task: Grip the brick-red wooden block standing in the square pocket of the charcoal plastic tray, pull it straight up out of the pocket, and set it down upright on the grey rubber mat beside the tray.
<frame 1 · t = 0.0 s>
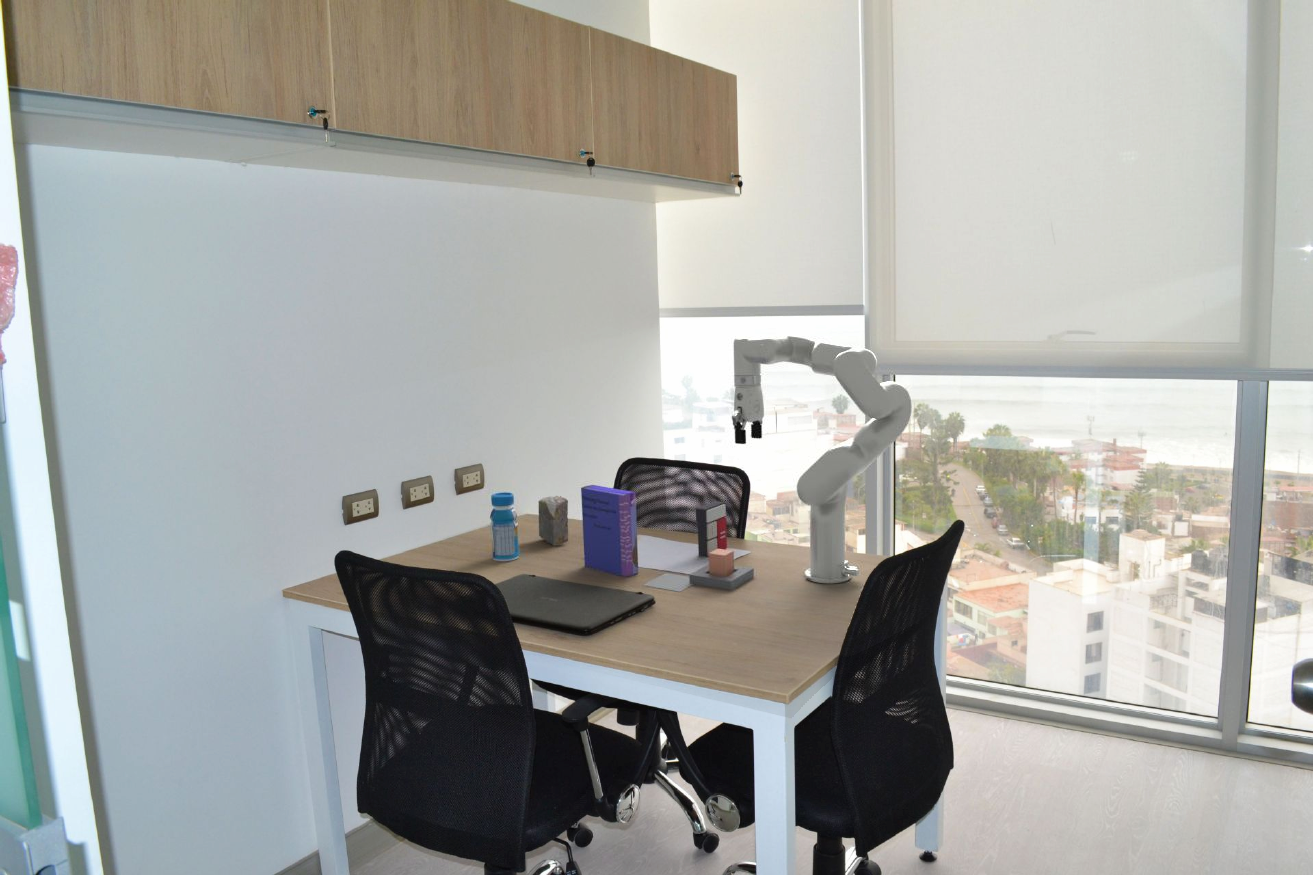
hand: (748, 440, 277), 37 cm above the table, tool pointing down, fingers open, 9 cm apart
geological specimen: (554, 542, 315), on the table
block: (721, 579, 269), resting on pocket tray
beverage bottle: (506, 558, 299), on the table
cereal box: (611, 570, 284), on the table
pocket tray: (721, 581, 269), on the table
grey and red box: (712, 553, 297), on the table
mat: (672, 584, 269), on the table
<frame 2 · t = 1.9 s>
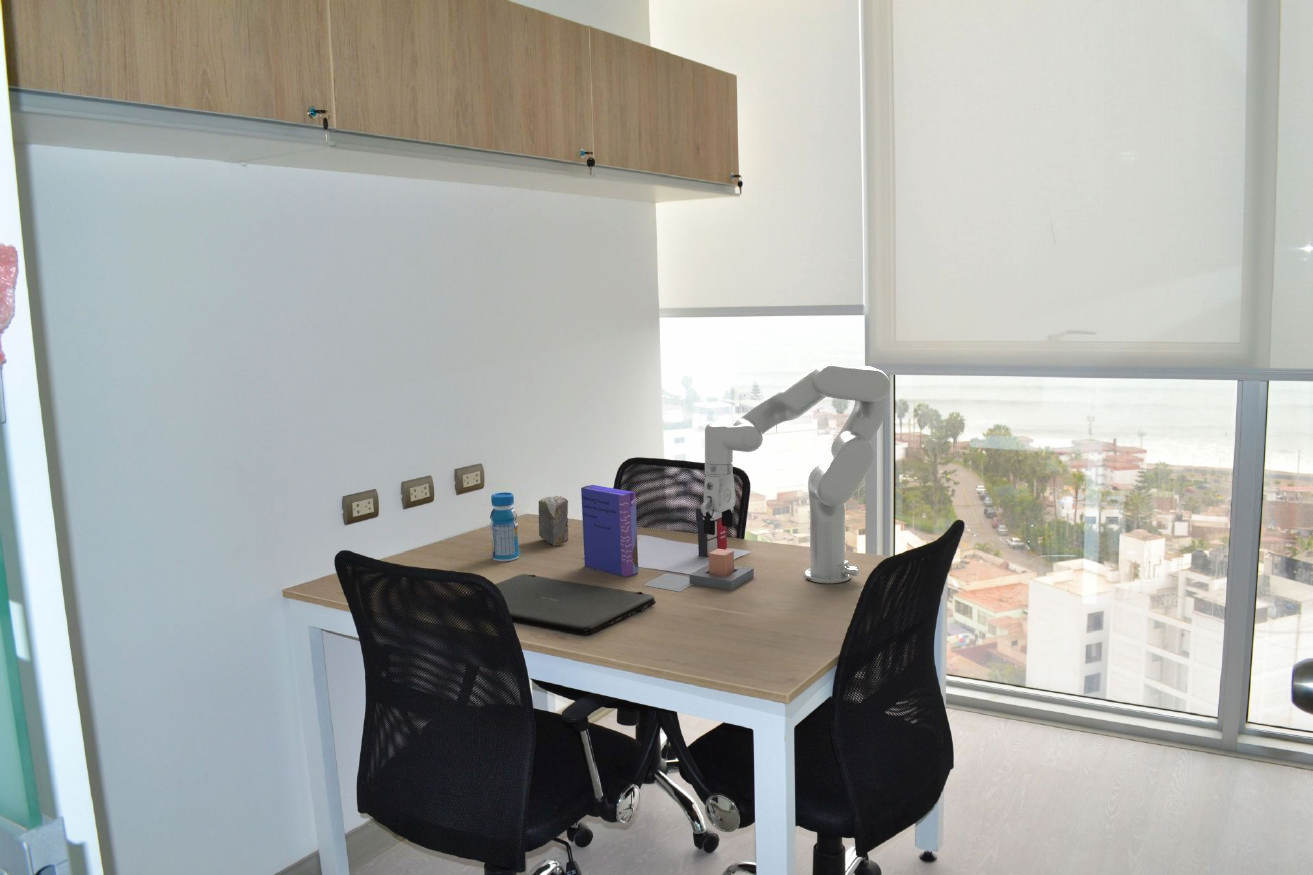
hand: (718, 530, 267), 15 cm above the table, tool pointing down, fingers open, 9 cm apart
nothing on the table moved.
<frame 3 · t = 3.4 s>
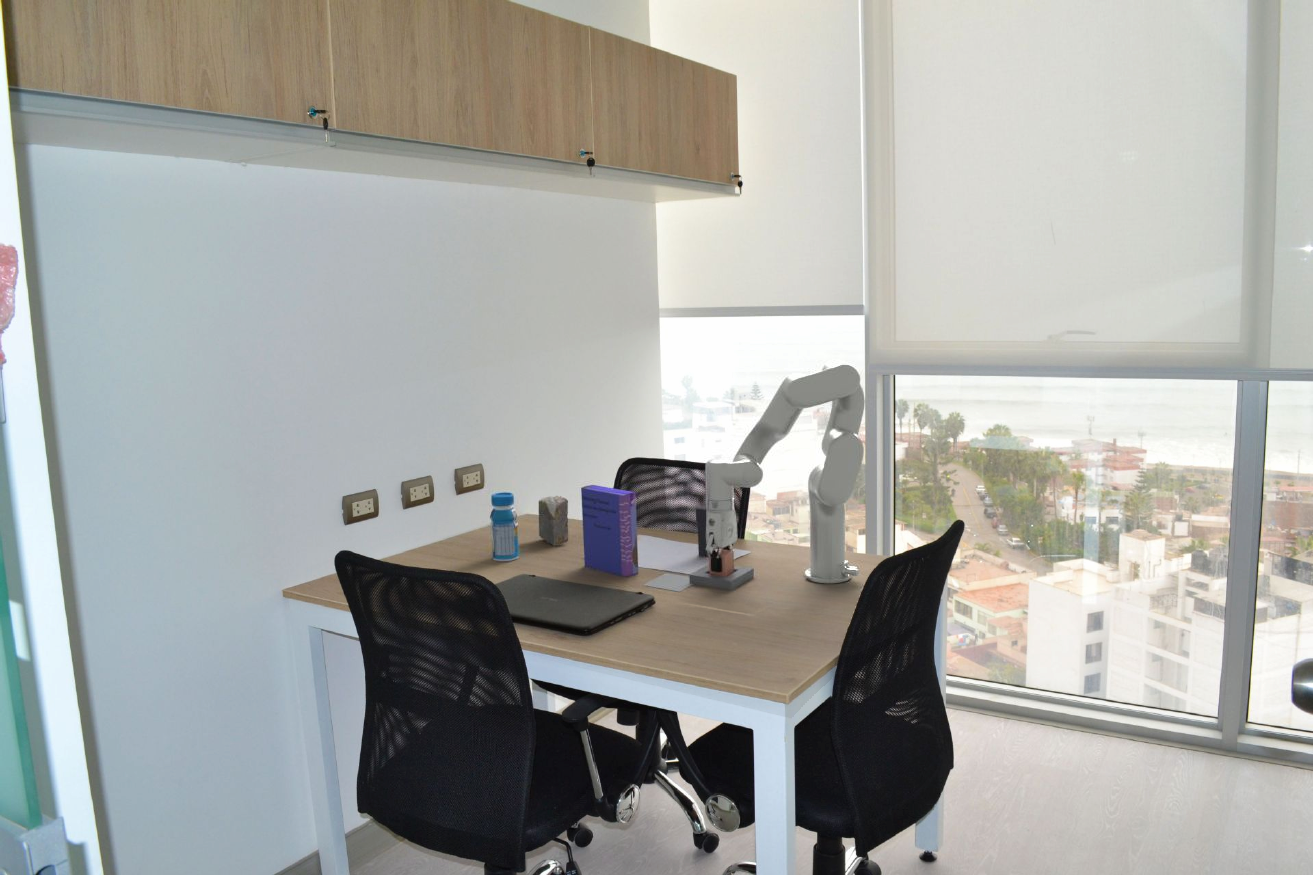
hand: (721, 568, 269), 4 cm above the table, tool pointing down, fingers closed on block, 5 cm apart
block: (721, 579, 269), point 1 cm above the table, touching gripper, pocket tray
everything else where it was.
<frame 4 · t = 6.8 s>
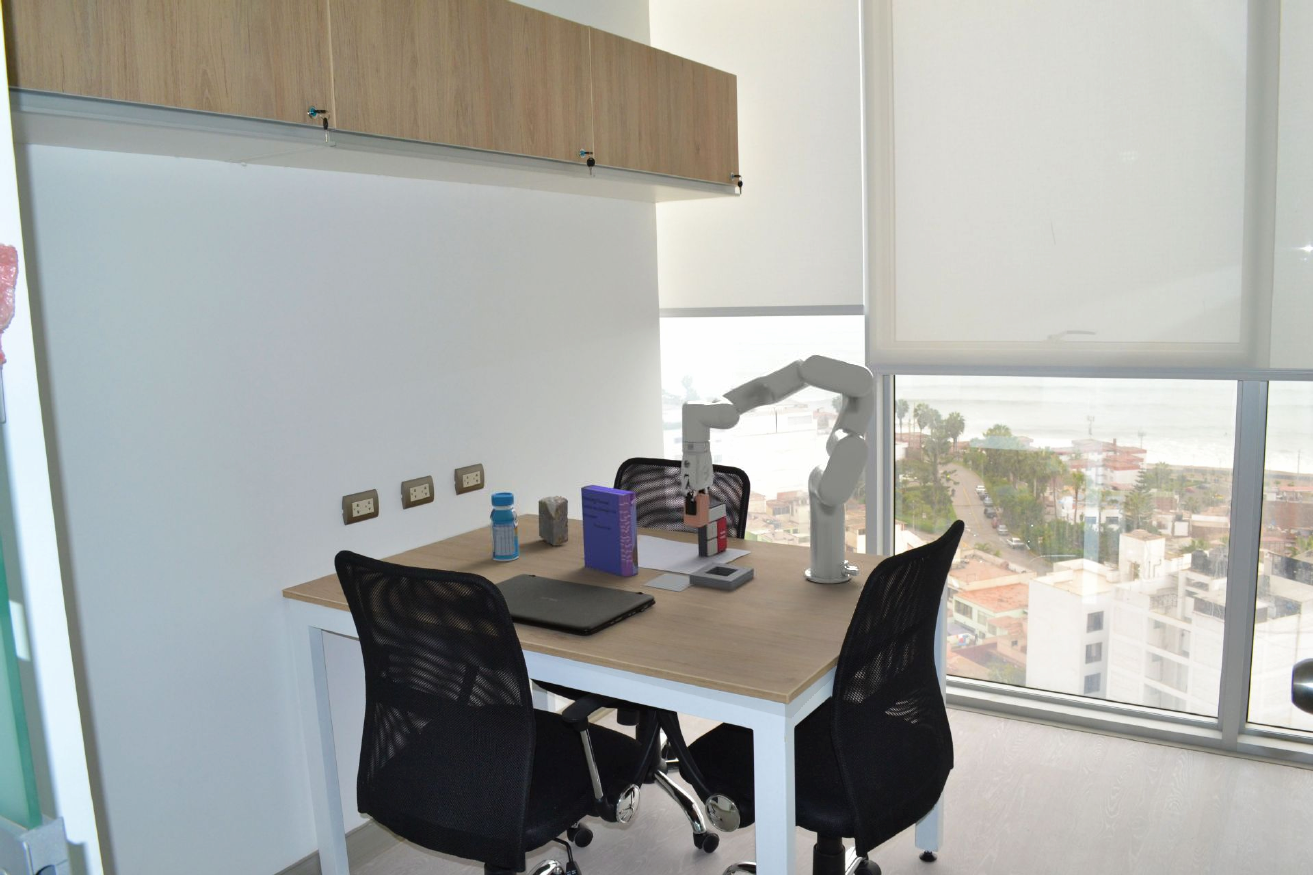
hand: (696, 511, 266), 20 cm above the table, tool pointing down, fingers closed on block, 5 cm apart
block: (696, 524, 266), point 17 cm above the table, touching gripper
everything else where it was.
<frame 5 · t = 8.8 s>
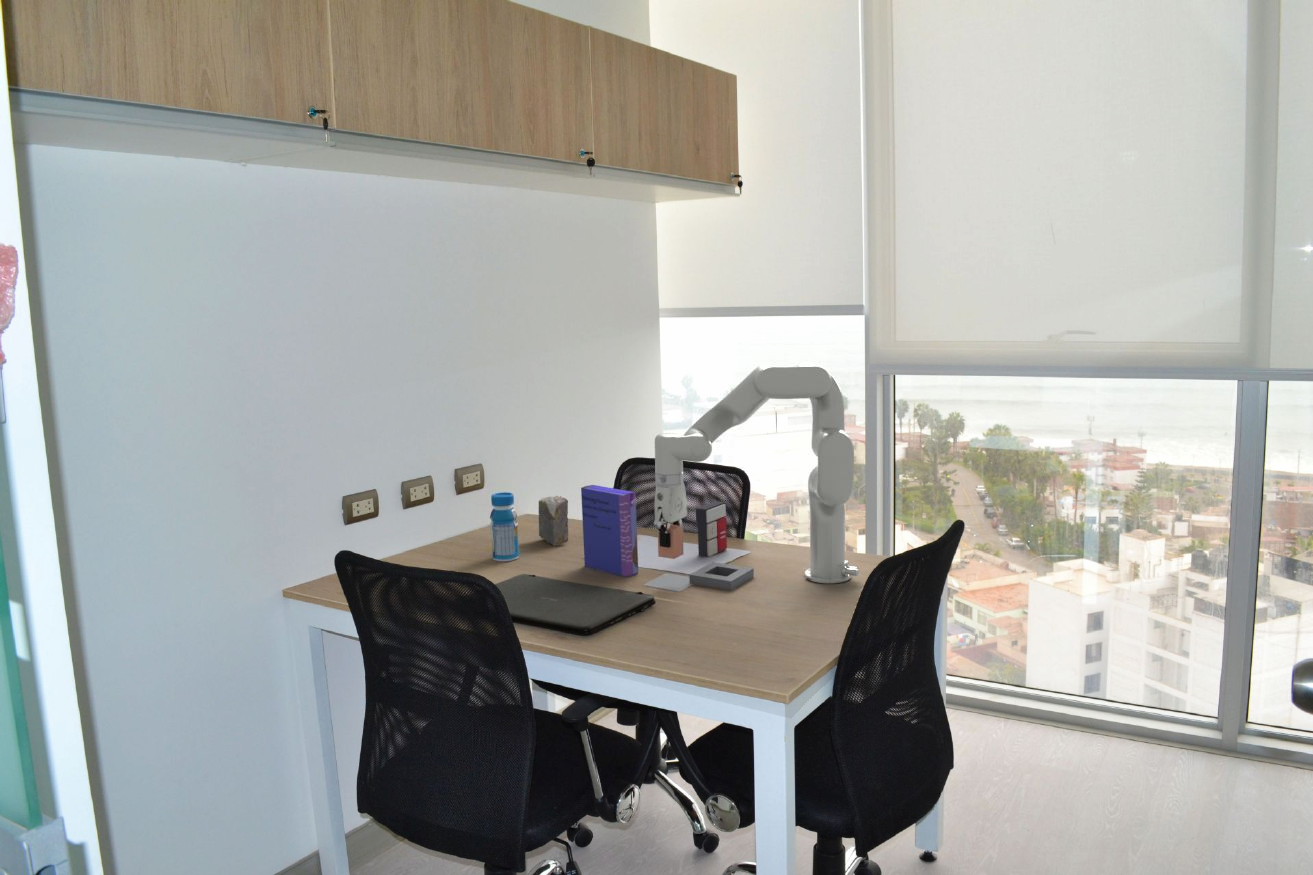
hand: (670, 543, 267), 12 cm above the table, tool pointing down, fingers closed on block, 5 cm apart
block: (671, 555, 267), point 8 cm above the table, touching gripper
everything else where it was.
when the fingers open (5 cm above the table, at t = 10.3 s): block drops 1 cm, resting on mat.
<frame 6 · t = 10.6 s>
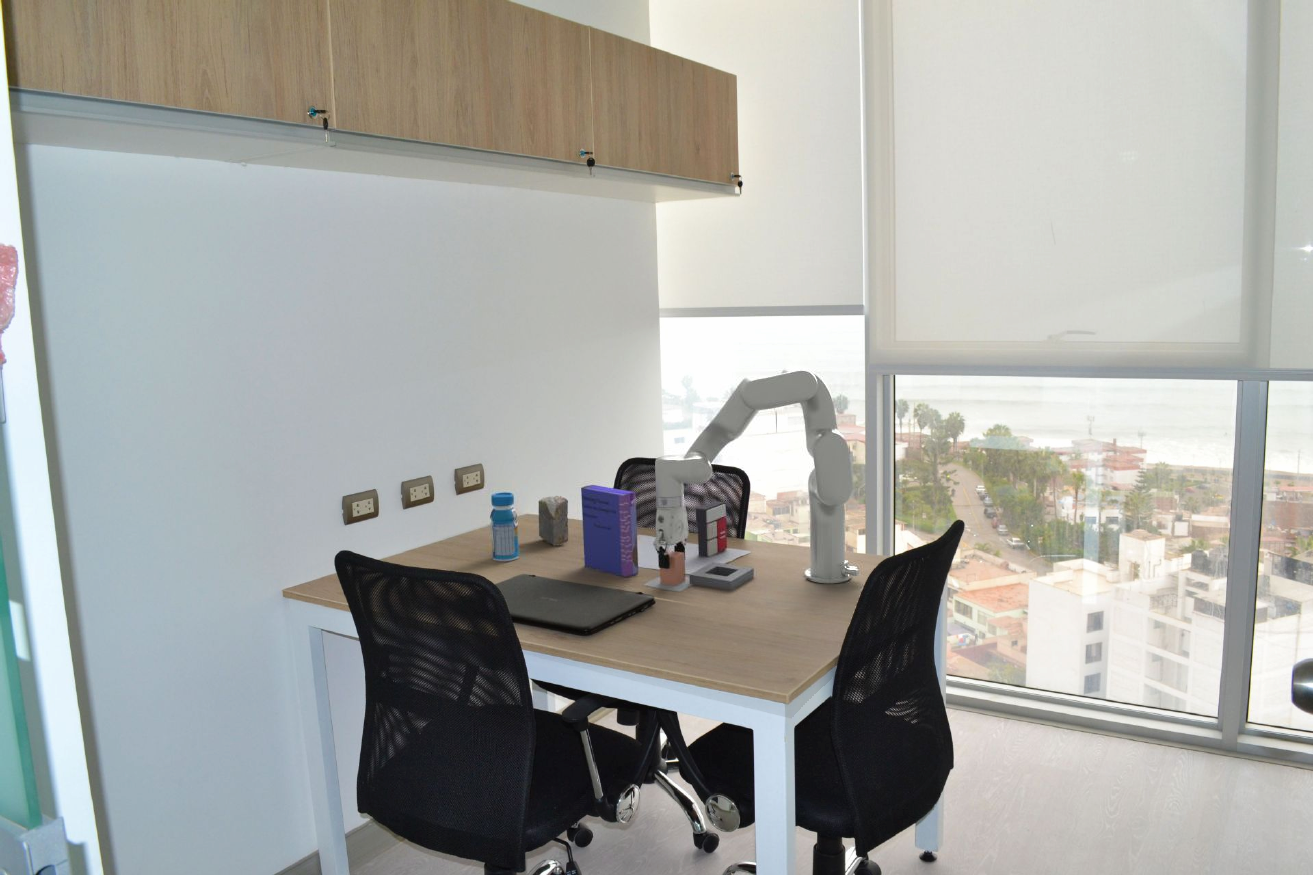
hand: (672, 563, 268), 6 cm above the table, tool pointing down, fingers open, 7 cm apart
block: (672, 581, 268), point 1 cm above the table, touching mat
everything else where it was.
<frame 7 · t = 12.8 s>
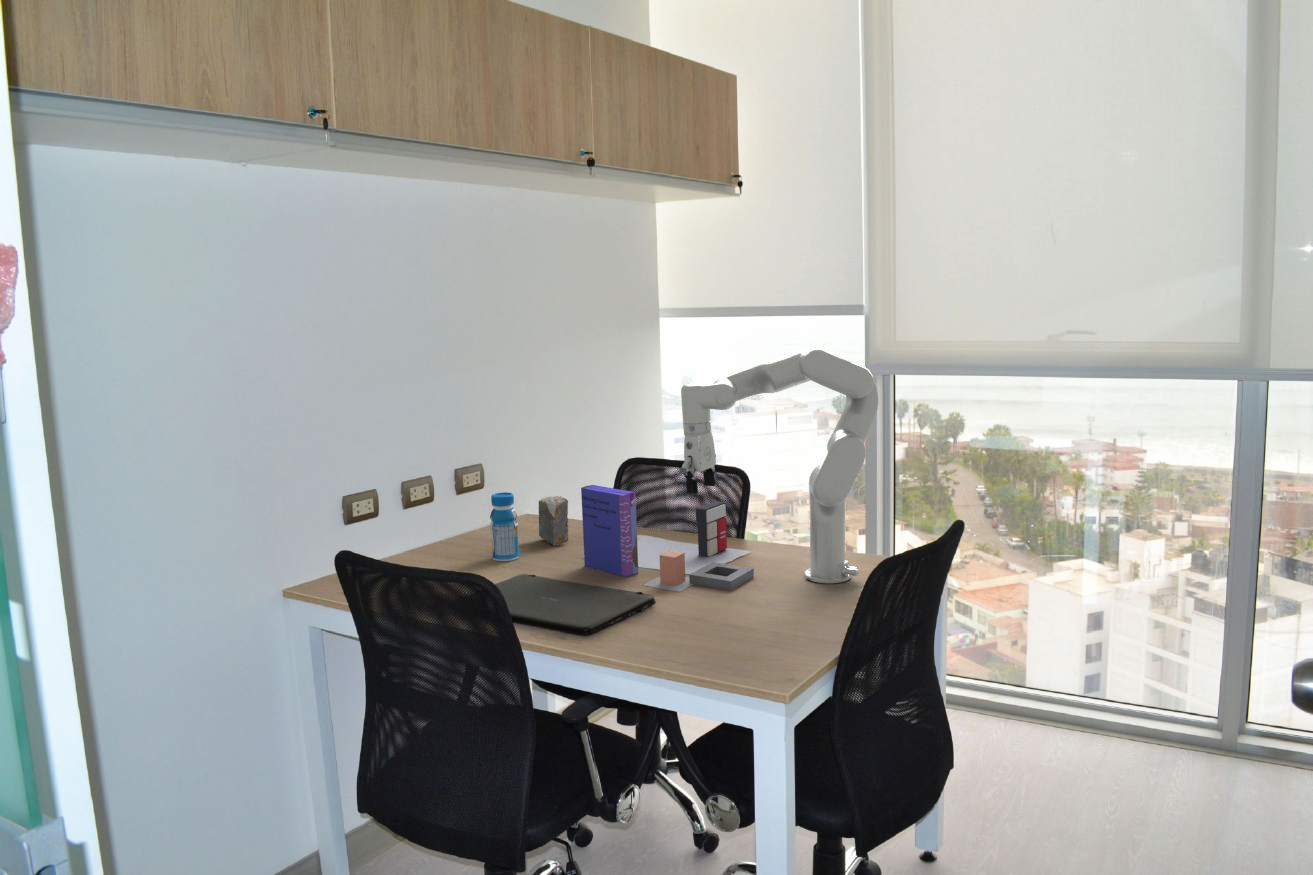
hand: (701, 489, 269), 25 cm above the table, tool pointing down, fingers open, 9 cm apart
nothing on the table moved.
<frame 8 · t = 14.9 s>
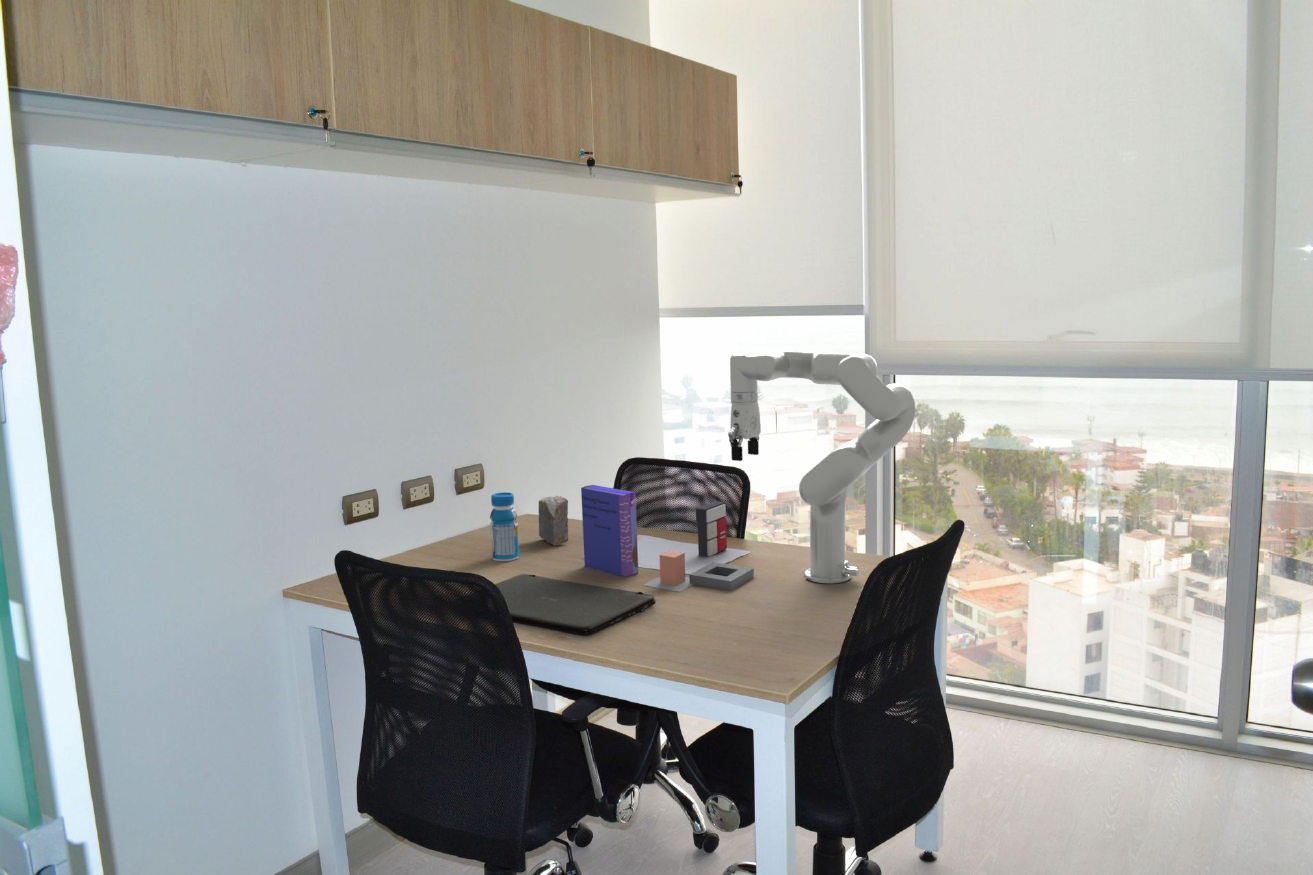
hand: (745, 457, 276), 32 cm above the table, tool pointing down, fingers open, 9 cm apart
nothing on the table moved.
at the end: block inside the target area on the mat (0.1 cm from its centre), point 0.6 cm above the mat's base; block tilted 0°; the gripper is holding nothing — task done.
